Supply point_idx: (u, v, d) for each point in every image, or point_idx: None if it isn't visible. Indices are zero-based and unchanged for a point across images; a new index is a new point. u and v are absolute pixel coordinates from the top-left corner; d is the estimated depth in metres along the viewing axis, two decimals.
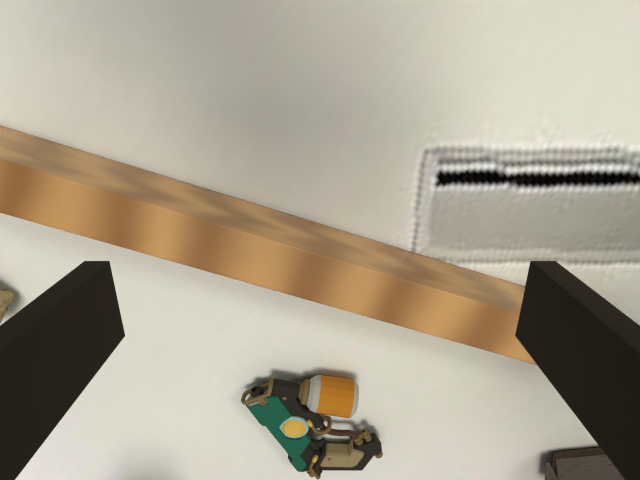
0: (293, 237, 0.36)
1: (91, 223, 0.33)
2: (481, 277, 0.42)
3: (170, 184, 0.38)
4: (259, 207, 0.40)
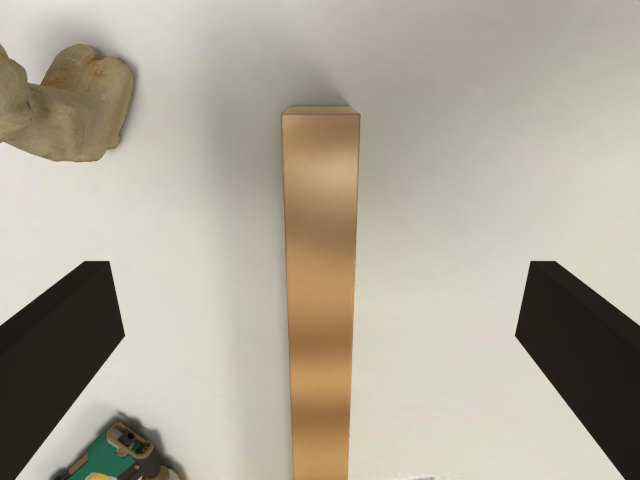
0: None
1: (307, 313, 0.28)
2: None
3: None
4: None
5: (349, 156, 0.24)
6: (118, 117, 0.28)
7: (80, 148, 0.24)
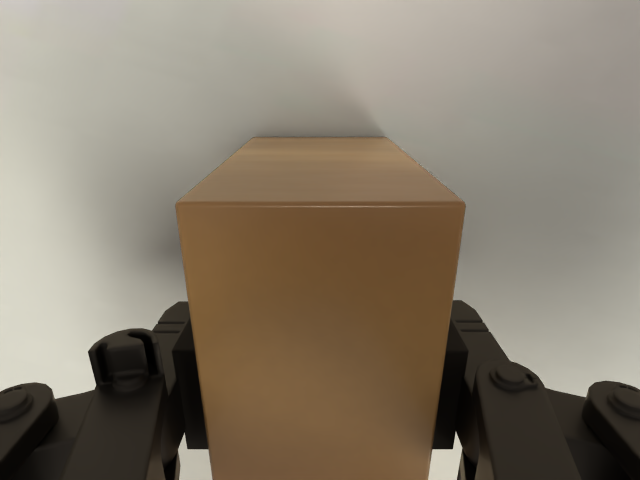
0: None
1: None
2: None
3: None
4: None
5: (416, 335, 0.07)
6: None
7: None
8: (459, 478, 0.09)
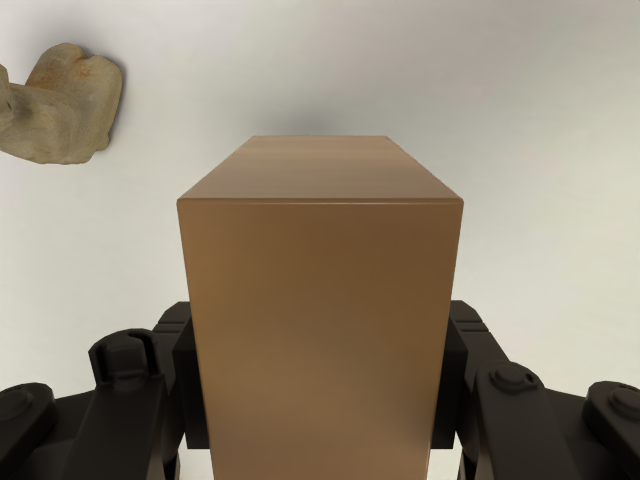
0: None
1: None
2: None
3: None
4: None
5: (414, 331, 0.07)
6: (106, 118, 0.27)
7: (66, 150, 0.23)
8: (459, 478, 0.09)
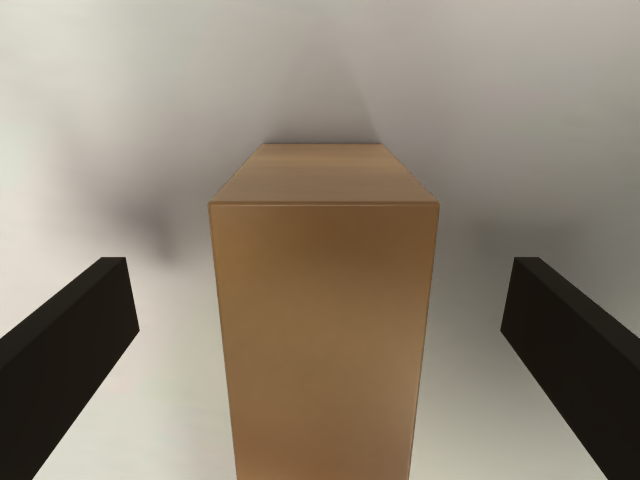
0: None
1: None
2: None
3: None
4: None
5: (401, 310, 0.09)
6: None
7: None
8: None
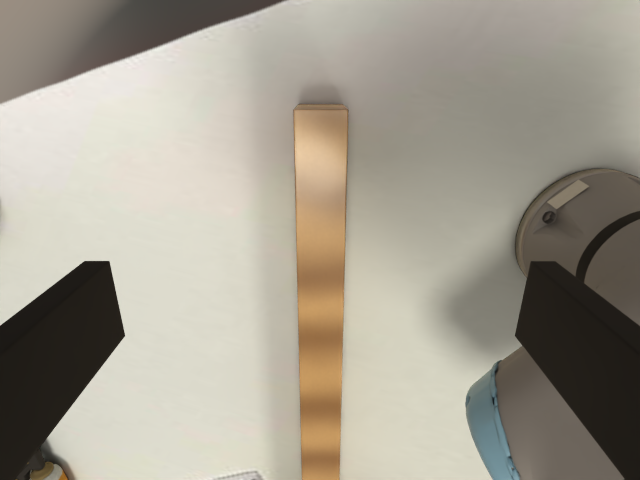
0: None
1: (311, 255, 0.38)
2: None
3: None
4: None
5: (340, 139, 0.34)
6: None
7: None
8: None
